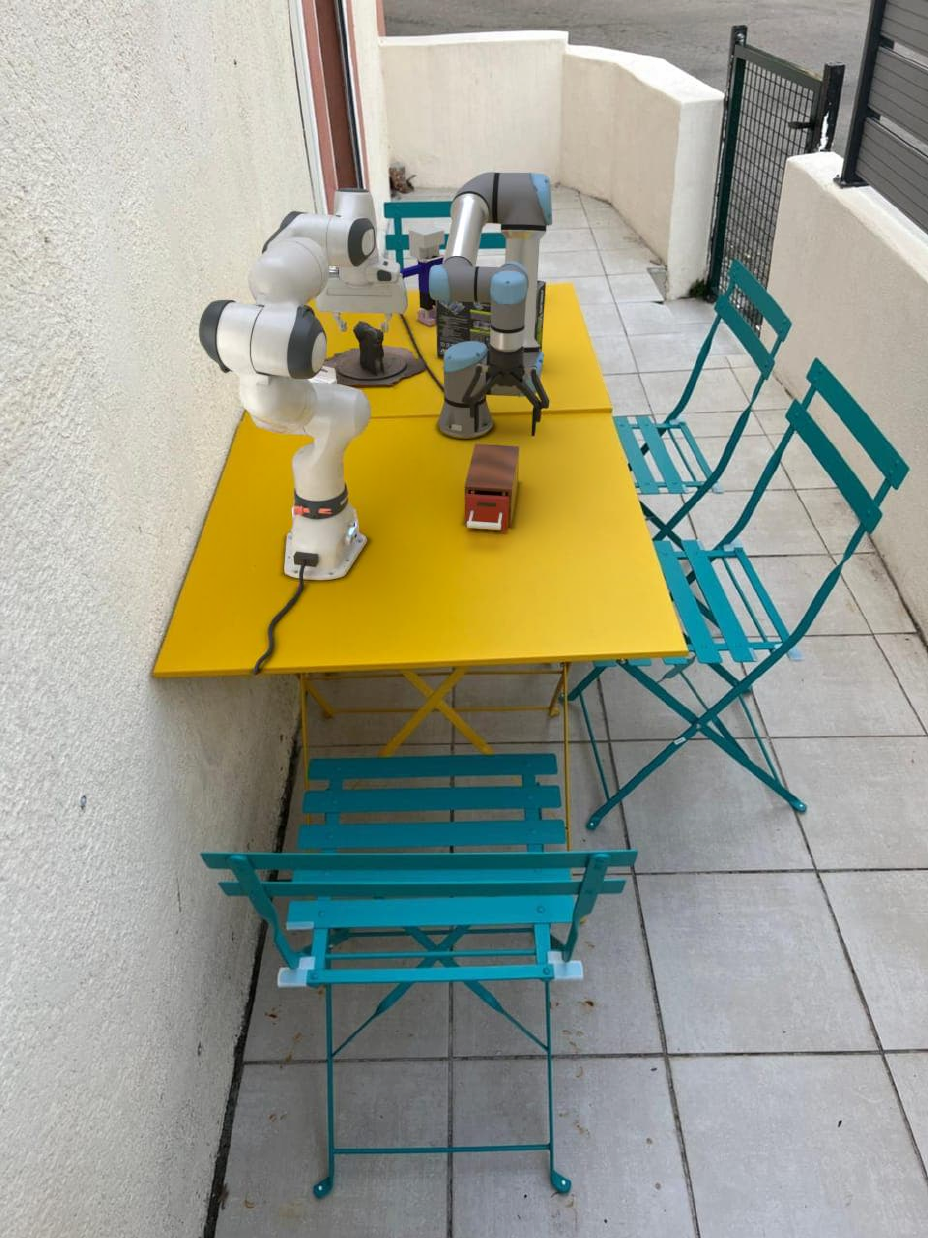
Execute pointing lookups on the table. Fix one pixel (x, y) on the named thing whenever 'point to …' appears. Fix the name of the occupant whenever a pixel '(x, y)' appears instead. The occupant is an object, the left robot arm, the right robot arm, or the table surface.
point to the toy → (425, 266)
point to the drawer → (487, 510)
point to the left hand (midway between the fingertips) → (364, 331)
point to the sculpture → (373, 360)
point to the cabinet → (494, 472)
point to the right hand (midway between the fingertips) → (504, 431)
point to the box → (476, 321)
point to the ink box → (325, 376)
